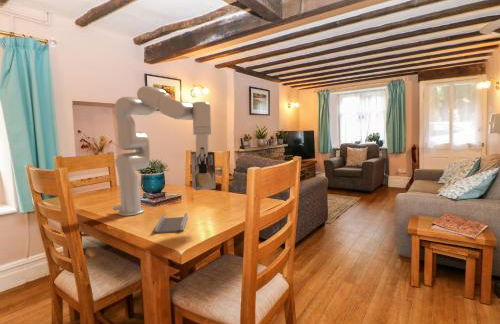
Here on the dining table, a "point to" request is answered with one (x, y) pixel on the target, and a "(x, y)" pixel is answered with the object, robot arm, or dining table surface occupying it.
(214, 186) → the coffee box
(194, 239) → the dining table surface
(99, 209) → the dining table surface
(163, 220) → the floor track
